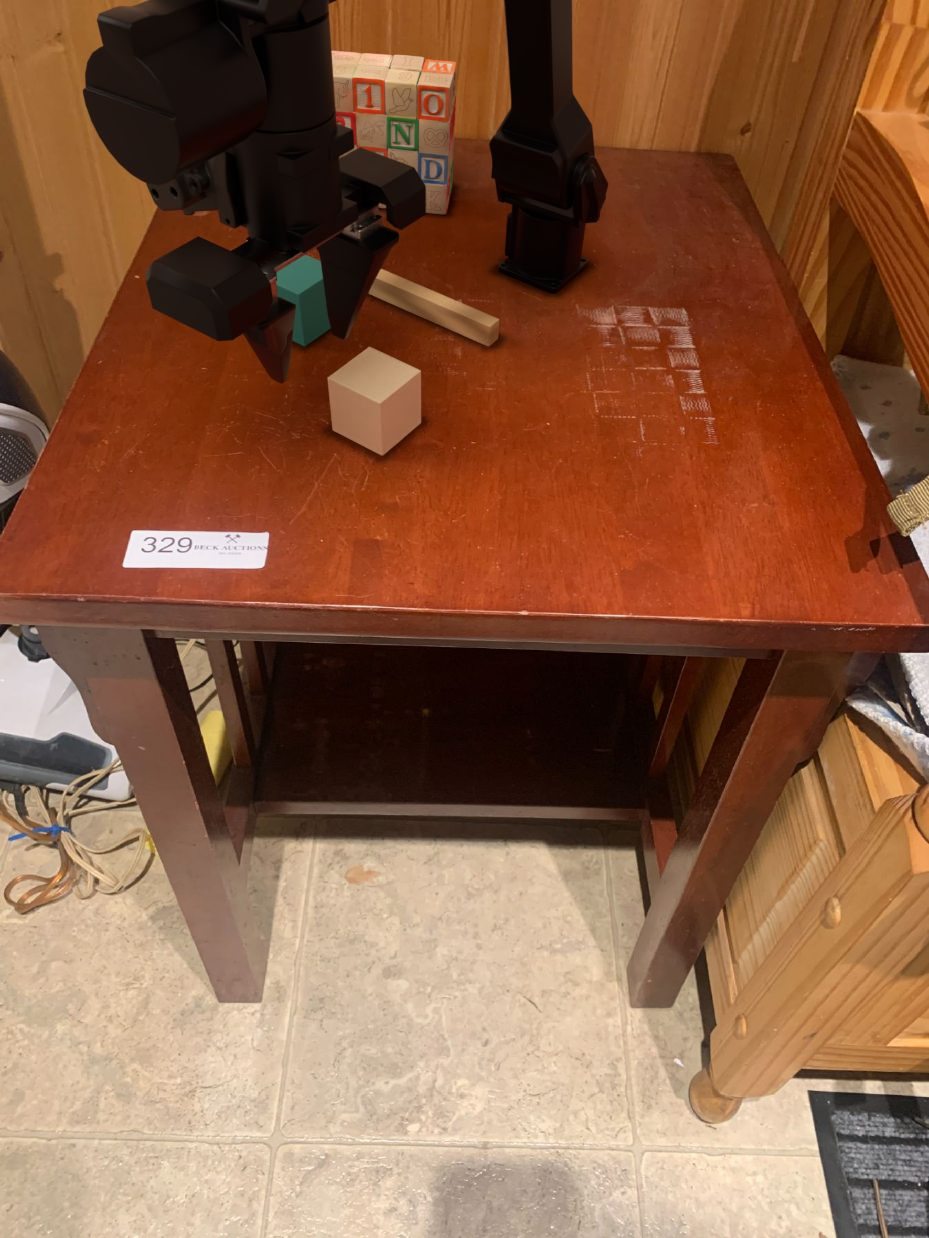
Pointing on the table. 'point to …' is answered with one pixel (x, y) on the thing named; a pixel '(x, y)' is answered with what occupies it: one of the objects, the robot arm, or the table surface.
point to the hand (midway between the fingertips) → (309, 358)
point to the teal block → (305, 298)
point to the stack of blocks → (401, 113)
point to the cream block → (375, 400)
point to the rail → (436, 307)
